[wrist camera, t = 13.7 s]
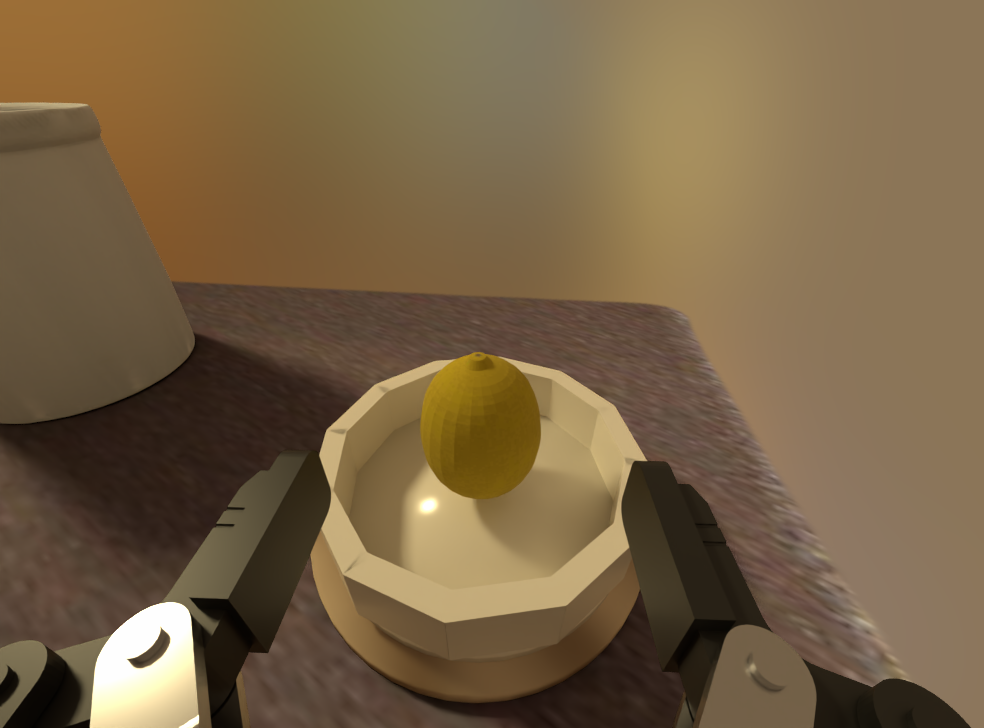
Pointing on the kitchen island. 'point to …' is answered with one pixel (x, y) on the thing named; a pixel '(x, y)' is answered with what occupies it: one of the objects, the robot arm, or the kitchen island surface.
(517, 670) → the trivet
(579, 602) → the bowl
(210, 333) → the kitchen island surface
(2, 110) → the utensil holder
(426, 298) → the kitchen island surface
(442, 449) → the lemon
